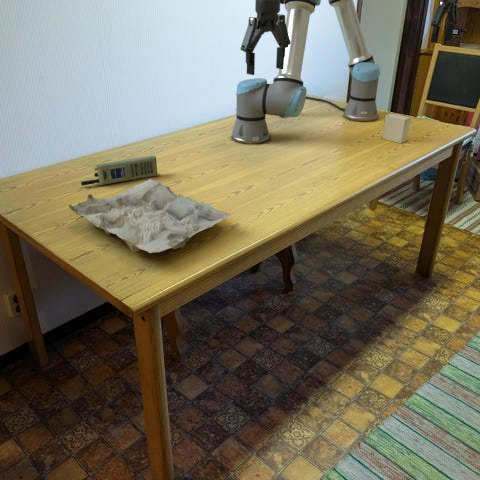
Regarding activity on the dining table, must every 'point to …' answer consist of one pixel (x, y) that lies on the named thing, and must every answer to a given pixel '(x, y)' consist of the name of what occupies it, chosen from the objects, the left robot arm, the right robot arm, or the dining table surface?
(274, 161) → the dining table surface
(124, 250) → the dining table surface
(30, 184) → the dining table surface
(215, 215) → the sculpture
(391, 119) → the brick
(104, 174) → the handheld radio
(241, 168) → the dining table surface
